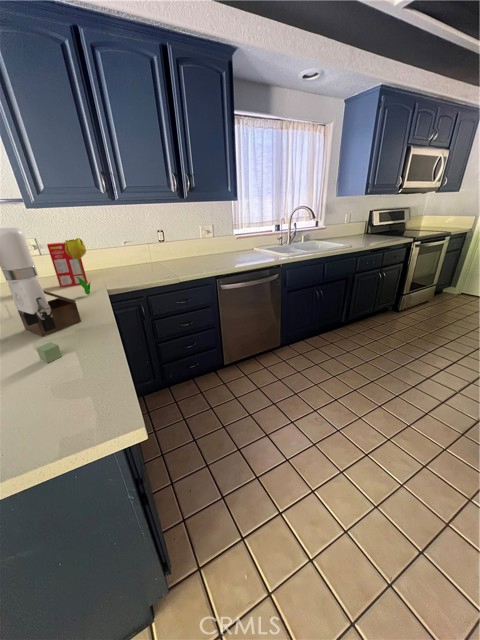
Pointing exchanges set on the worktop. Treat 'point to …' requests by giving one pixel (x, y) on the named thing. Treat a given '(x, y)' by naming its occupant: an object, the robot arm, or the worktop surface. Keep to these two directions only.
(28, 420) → the worktop surface
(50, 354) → the block
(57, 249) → the food packaging
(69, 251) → the flower
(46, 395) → the worktop surface
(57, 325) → the chest
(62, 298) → the lid
